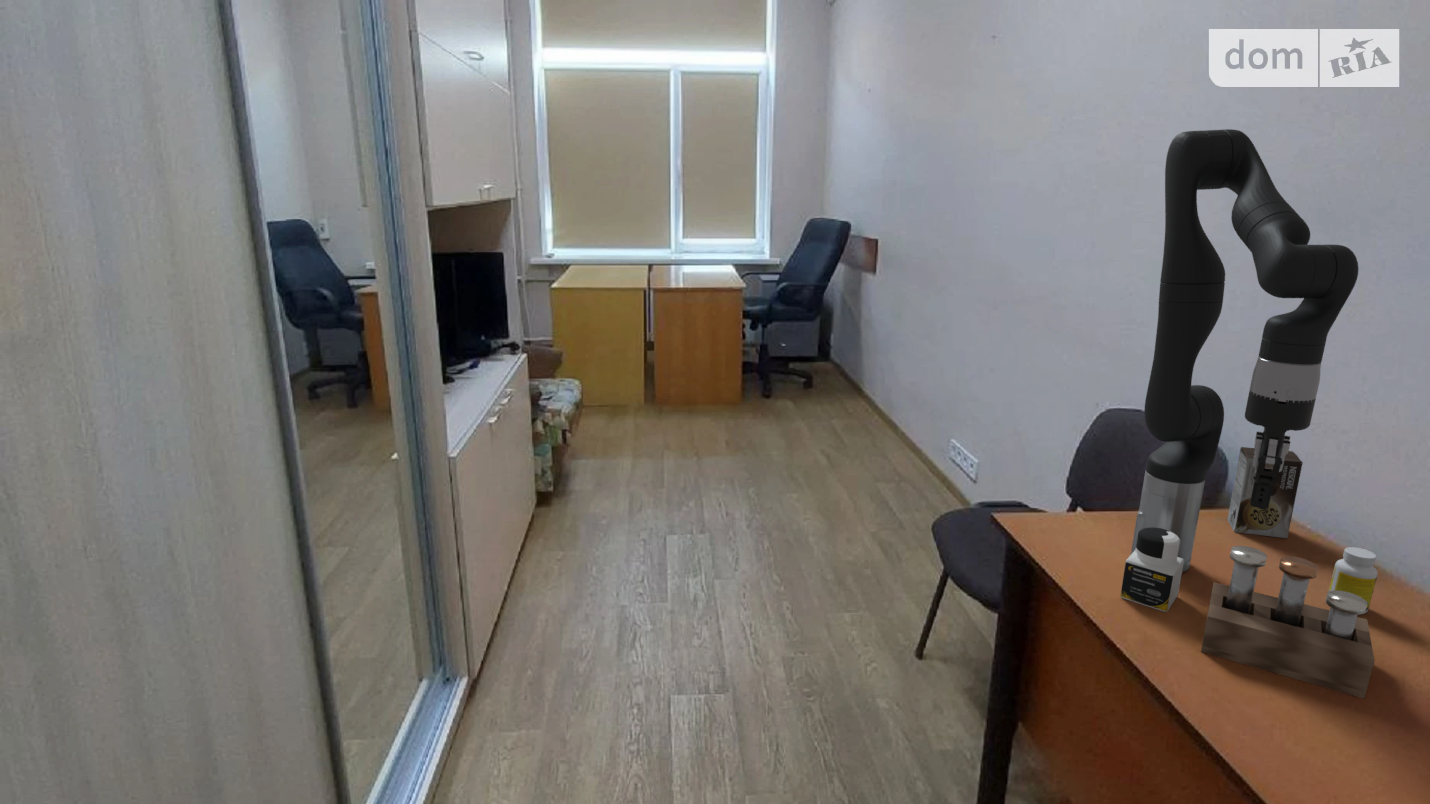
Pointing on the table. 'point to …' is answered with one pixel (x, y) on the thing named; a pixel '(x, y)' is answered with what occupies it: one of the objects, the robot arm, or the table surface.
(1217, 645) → the mount
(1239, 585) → the knob left
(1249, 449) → the coffee box
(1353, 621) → the knob right
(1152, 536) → the medicine bottle
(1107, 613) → the table surface
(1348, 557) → the supplement bottle
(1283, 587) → the copper and grey cylinder
